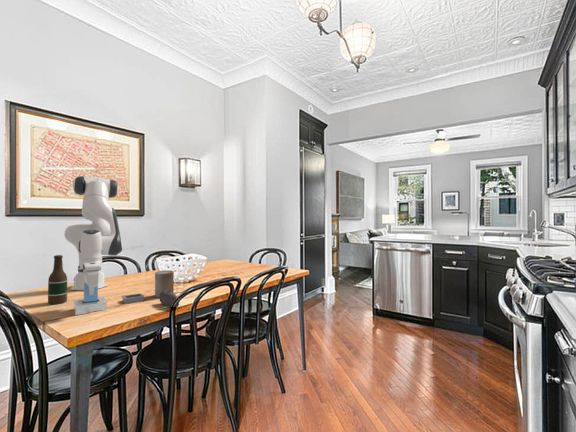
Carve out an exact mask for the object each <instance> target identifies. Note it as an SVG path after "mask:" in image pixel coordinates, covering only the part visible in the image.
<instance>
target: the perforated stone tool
mask: <svg viewBox="0 0 576 432" xmlns="http://www.w3.org/2000/svg"><path fill="white" fill-rule="evenodd" d="M176 297H178V295H176V294H175V293H174V292H173V293H172V292H170V291H167V290H164V291H162V292H161V293H160V298H158V299H159V302H160V303H161V304H162V305H163V306H167V307H168V308H171V306H172V304H173V302H174V300H175V299H176ZM179 305H180V301H179V302H178V304H177V305H176V308H175V309H177V308H178V307H179Z"/></svg>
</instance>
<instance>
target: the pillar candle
mask: <svg viewBox="0 0 576 432" xmlns="http://www.w3.org/2000/svg"><path fill="white" fill-rule="evenodd" d="M174 282H175V281H174V270H166V269H164V270H160V271H159V270H158V271H156V272H155V273H154V297H155V298H158V299H159V298H160V293H161V292H162V291H164V290H167V291H170V292H172V293H174V291H175V290H174V289H175V288H174V285H175V283H174Z"/></svg>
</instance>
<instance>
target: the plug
mask: <svg viewBox="0 0 576 432" xmlns="http://www.w3.org/2000/svg"><path fill="white" fill-rule="evenodd" d="M98 291H99V289H98V286H97V287H94V294H93V295H89V287H88V285H87V284H84V290H83V299H84V302H91V301H98V297H99V296H98V295H99V292H98Z"/></svg>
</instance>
